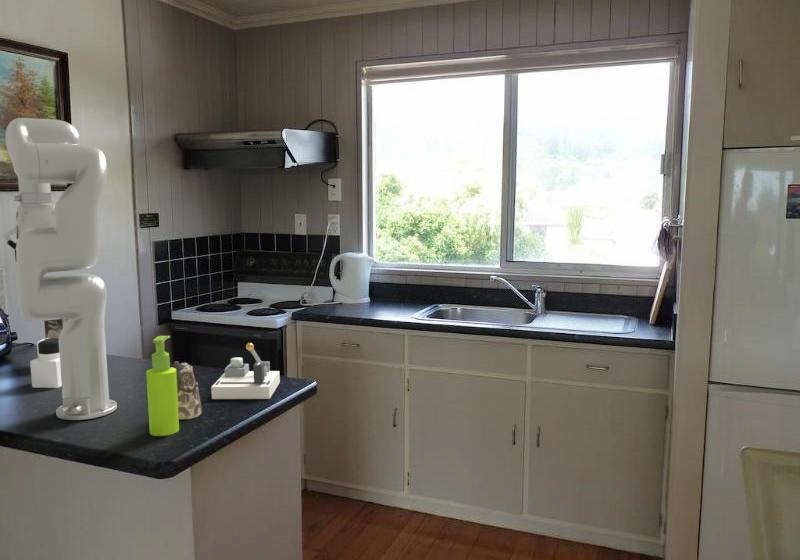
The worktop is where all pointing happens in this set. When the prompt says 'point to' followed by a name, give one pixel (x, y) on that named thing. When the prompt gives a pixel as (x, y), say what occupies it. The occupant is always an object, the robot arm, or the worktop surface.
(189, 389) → the figurine
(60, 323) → the coffee box
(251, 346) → the toggle lever
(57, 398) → the worktop surface
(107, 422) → the worktop surface
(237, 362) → the push button
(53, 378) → the medicine bottle
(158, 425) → the soap dispenser
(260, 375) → the slider knob
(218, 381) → the panel
